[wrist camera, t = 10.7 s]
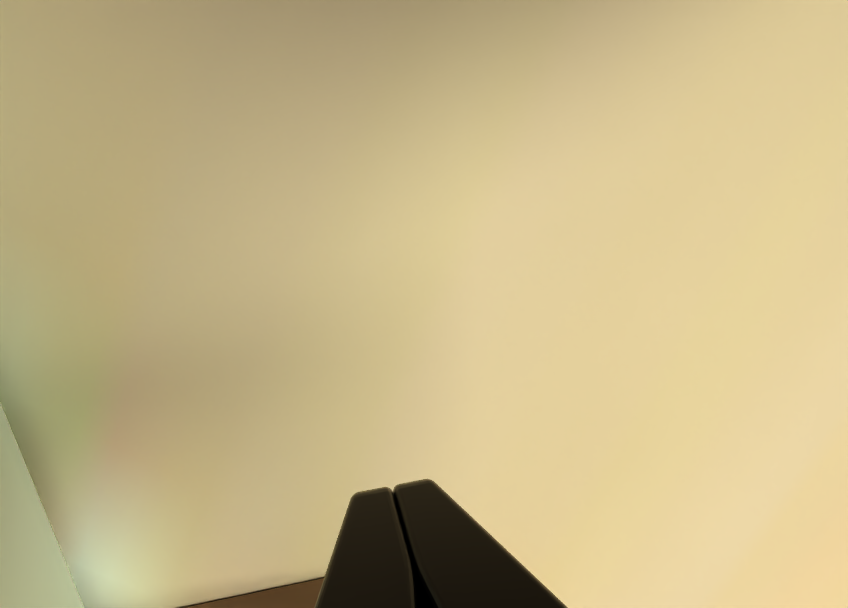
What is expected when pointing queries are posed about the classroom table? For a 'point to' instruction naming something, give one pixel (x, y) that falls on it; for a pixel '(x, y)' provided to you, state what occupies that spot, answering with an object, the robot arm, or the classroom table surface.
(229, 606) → the brown wooden cube
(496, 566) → the robot arm
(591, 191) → the classroom table surface
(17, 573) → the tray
